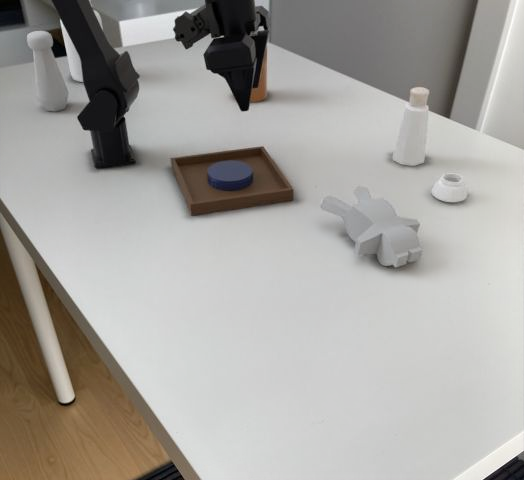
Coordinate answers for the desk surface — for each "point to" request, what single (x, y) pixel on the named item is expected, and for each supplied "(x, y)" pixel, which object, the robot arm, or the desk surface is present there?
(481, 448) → the desk surface
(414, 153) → the pepper shaker
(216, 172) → the lid
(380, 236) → the bunny figurine
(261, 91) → the jar
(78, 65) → the pill bottle
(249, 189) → the tray
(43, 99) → the salt shaker
